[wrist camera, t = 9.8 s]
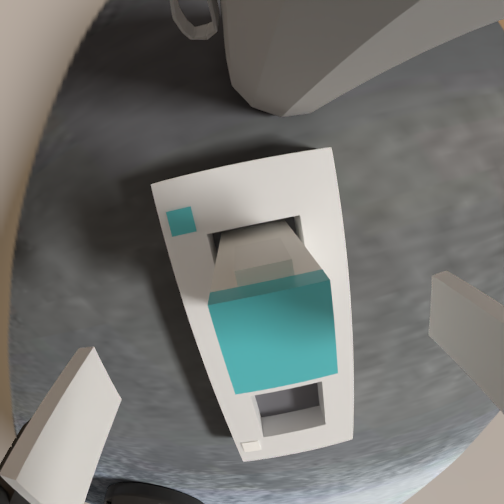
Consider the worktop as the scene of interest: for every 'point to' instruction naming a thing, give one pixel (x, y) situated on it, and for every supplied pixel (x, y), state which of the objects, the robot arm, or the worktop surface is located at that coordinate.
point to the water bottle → (327, 43)
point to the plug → (271, 309)
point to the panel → (201, 274)
